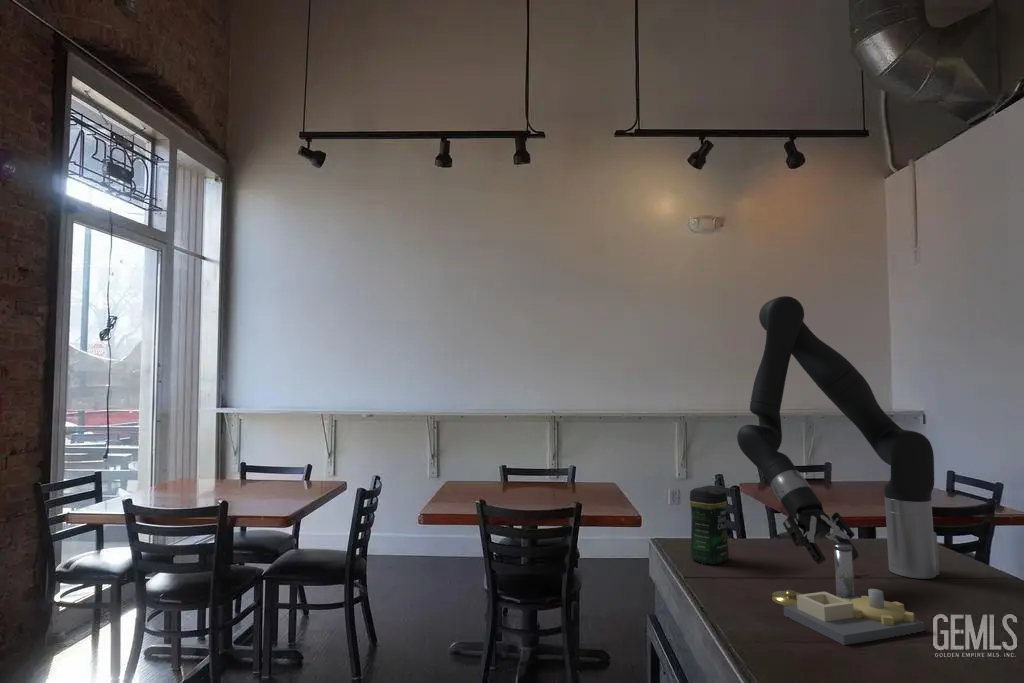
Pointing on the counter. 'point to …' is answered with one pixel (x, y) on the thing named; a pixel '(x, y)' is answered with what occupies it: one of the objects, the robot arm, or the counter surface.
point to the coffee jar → (709, 525)
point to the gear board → (853, 617)
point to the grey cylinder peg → (844, 570)
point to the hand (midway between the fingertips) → (838, 560)
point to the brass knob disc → (785, 597)
